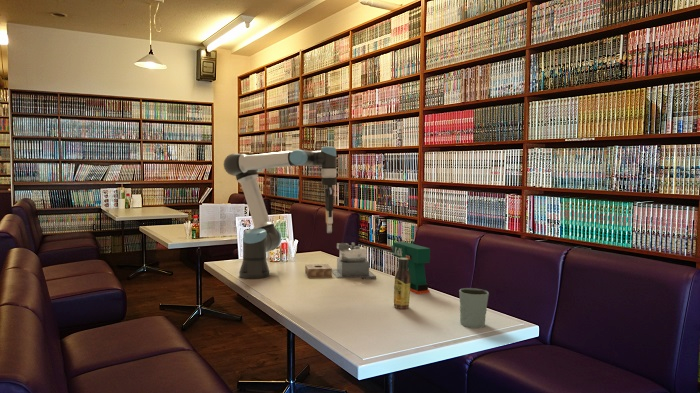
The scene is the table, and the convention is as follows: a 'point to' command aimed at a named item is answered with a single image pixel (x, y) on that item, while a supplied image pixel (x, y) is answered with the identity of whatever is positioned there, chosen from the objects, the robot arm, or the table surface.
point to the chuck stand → (353, 270)
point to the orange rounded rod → (328, 226)
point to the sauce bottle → (402, 285)
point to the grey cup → (473, 307)
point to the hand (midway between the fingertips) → (329, 223)
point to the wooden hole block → (318, 270)
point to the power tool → (414, 264)
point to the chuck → (351, 252)
